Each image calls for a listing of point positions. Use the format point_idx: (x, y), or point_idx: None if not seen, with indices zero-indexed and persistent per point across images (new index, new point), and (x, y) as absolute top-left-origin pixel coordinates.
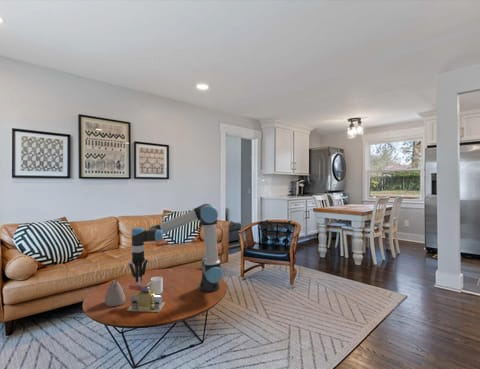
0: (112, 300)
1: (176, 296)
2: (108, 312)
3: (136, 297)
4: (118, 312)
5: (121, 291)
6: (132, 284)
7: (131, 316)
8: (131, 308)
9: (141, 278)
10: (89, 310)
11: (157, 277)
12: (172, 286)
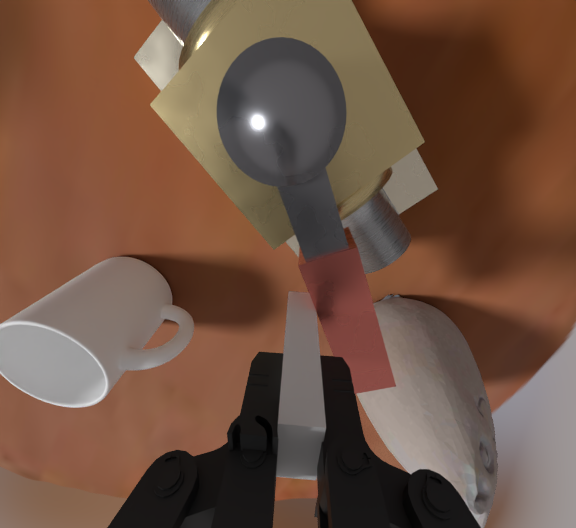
0: (463, 341)
1: (11, 116)
2: (514, 263)
3: (380, 196)
4: (483, 212)
5: (412, 376)
6: (358, 378)
7: (488, 53)
8: (409, 175)
9: (250, 391)
10: (542, 359)
11: (41, 388)
12: (12, 294)
